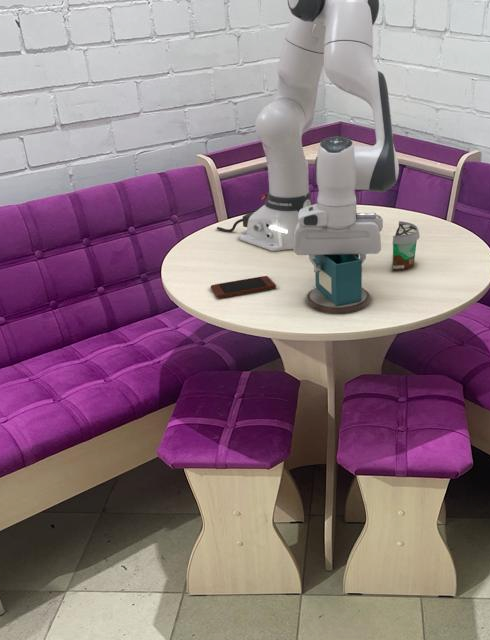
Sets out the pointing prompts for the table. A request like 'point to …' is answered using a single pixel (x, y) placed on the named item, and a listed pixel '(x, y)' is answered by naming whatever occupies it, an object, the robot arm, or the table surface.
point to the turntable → (327, 306)
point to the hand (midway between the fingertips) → (337, 271)
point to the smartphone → (242, 286)
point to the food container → (404, 246)
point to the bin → (340, 278)
